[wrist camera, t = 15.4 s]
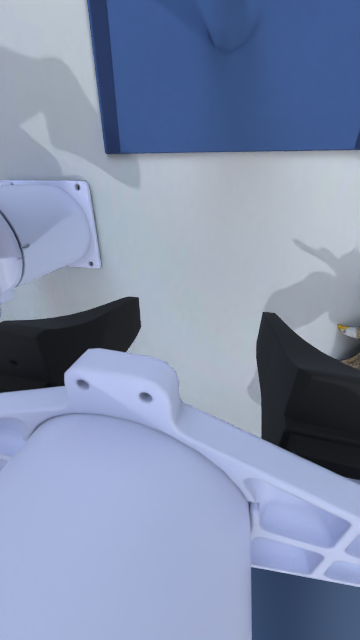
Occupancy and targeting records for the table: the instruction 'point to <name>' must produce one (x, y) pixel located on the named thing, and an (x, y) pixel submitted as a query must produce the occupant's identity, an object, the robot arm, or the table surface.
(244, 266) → the table surface
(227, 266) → the table surface
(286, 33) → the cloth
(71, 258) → the robot arm
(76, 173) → the table surface
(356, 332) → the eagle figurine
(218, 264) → the table surface
